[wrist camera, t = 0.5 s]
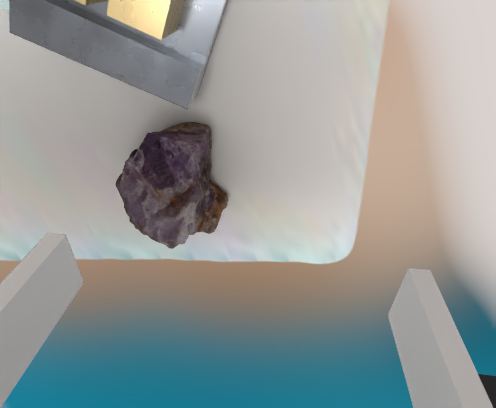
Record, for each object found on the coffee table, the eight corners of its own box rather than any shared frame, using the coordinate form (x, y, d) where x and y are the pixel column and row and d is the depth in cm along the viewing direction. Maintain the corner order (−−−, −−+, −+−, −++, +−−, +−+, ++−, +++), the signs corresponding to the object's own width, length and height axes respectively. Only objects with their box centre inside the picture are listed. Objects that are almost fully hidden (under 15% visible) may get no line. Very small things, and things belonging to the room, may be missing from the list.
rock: (228, 119, 34) (132, 116, 35) (215, 142, 27) (92, 138, 27) (229, 219, 39) (145, 215, 40) (218, 263, 32) (115, 257, 32)
